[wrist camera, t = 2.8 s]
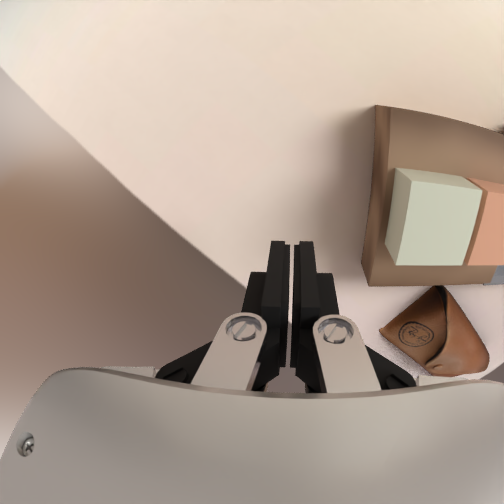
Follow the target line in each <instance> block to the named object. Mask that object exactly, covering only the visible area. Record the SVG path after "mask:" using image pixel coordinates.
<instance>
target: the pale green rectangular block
mask: <svg viewBox="0 0 504 504" xmlns="http://www.w3.org/2000/svg"><path fill="white" fill-rule="evenodd" d="M482 191H483V190H481V189H480V188H478V187H477V186H475V185H474V184H472V183H471V182H470V181H468V180H466V179H465V178H463V177H462V176H456V175H450V174H443V173H436V172H429V171H421V170H413V169H404V168H395V177H394V186H393V194H392V201H391V208H390V215H389V221H388V227H387V233H386V238H385V245H386V247H387V249H388V251H389V253H390V255H391V257H392V259H393V261H394V263H395V265H462V264H463V261H464V258H465V255H466V252H467V249H468V246H469V242H470V239H471V236H472V232H473V229H474V225H475V221H476V217H477V213H478V209H479V205H480V200H481V196H482Z"/></svg>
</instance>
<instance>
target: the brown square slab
mask: <svg viewBox="0 0 504 504" xmlns="http://www.w3.org/2000/svg"><path fill="white" fill-rule="evenodd" d="M395 168H404V169H413V170H421V171H429V172H436V173H443V174H450V175H456V176H462V177H463V178H465V179H466V180H467V177H468V178H473V179H479V180H484V181H489V182H494V183H498V184H503V185H504V135H503V134H501V133H498V132H495V131H492V130H489V129H486V128H483V127H479V126H476V125H473V124H469V123H466V122H462V121H458V120H454V119H450V118H446V117H442V116H437V115H433V114H428V113H423V112H418V111H413V110H407V109H401V108H394V107H387V106H380V105H375V142H374V160H373V173H372V185H371V195H370V204H369V213H368V220H367V228H366V235H365V242H364V248H363V254H362V260H361V264H362V267H363V270H364V273H365V276H366V280H367V283H368V286H431V285H461V284H483V283H490V282H491V280H492V278H493V275H494V273H495V270H496V268H497V265H467V264H466V263H465V262H464V261H463V264H462V265H395V263H394V261H393V259H392V257H391V255H390V253H389V251H388V249H387V247H386V245H385V238H386V233H387V227H388V221H389V215H390V208H391V201H392V194H393V186H394V177H395Z"/></svg>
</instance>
